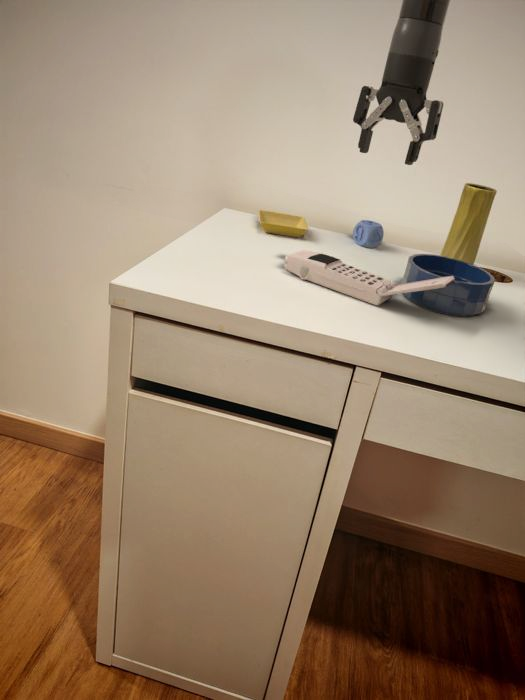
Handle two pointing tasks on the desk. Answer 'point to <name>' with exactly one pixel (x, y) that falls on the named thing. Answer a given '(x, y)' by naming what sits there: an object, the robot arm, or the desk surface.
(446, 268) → the bowl
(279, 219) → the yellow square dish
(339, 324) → the desk surface
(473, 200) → the vase
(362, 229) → the decorative dice
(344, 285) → the mobile phone
